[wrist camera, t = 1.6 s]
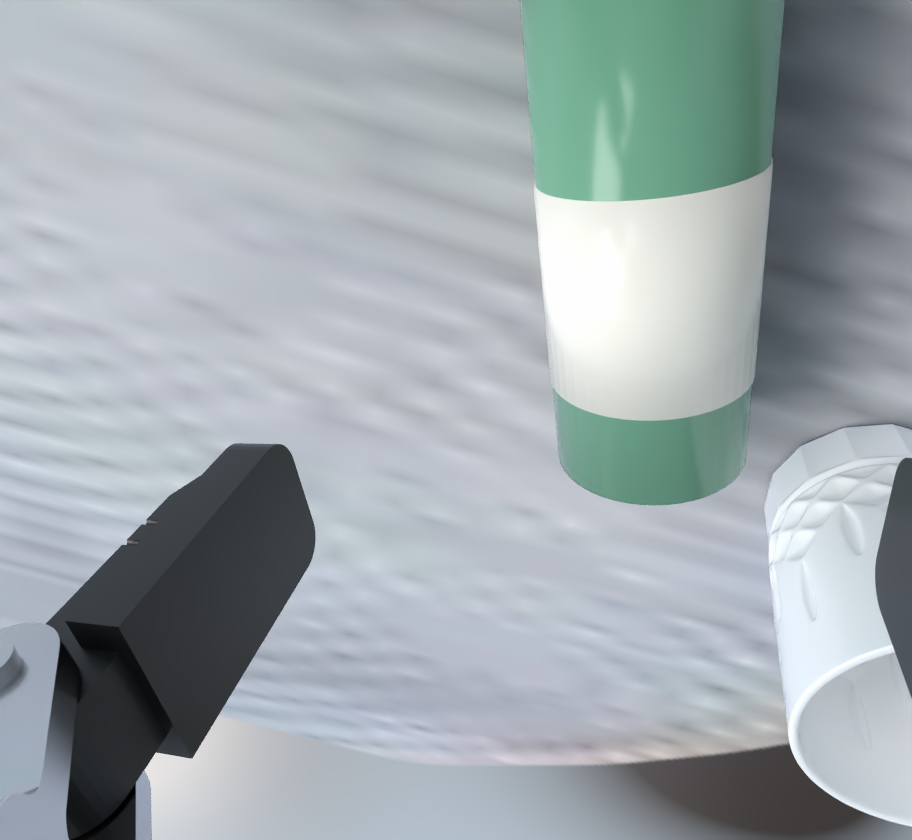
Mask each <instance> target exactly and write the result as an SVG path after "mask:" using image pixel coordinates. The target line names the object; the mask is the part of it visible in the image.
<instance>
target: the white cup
mask: <svg viewBox="0 0 912 840" xmlns="http://www.w3.org/2000/svg"><path fill="white" fill-rule="evenodd" d="M904 458H912V429H908V428H905V427H901V426H897V425H894V424H885V425H872V426H858V427H846V428H841V429H839V430H836V431H834V432H832V433H829V434H827V435H825V436H822V437H820V438H818V439H815V440H813V441H811V442H808V443H806V444H804V445H801V446H800V447H799V448H798V449H797V450H796V451H795V452H794V453H793V454H792V455H791V456H790V457H789V458H788V459H787V460H786V461H785V462H784V463H783V464H782V465H781V466H780V467H779V468H778V469H777V470H776V471H775V472H774V473H773V475H772V478H771V482H770V486H769V489H768V493H767V497H766V501H765V504H764V510H765V518H766V525H767V532H768V538H769V573H770V581H771V587H772V605H773V615H774V624H775V631H776V639H777V647H778V655H779V663H780V671H781V678H782V686H783V695H784V703H785V711H786V720H787V728H788V737H789V743H790V747H791V750H792V752H793V755H794V757H795V759H796V761H797V762H798V764H799V765H800V767H801V768H802V770H803V771H804V772H805V773H806V774H807V776H808V777H809V778H810V779H811V780H812V781H814V783H816V784H817V785H818V786H819V787H820V788H822V789H823V790H824V791H826V792H827V793H828V794H830V795H832V796H833V797H835V798H836V799H838V800H840V801H841V802H843V803H845V804H847V805H849V806H851V807H853V808H855V809H857V810H860V811H862V812H865V813H867V814H870V815H872V816H875V817H878V818H881V819H884V820H888V821H891V822H894V823H898V824H902V825H907V826H912V698H911V695H910V693H909V690H908V687H907V684H906V681H905V679H904V676H903V673H902V670H901V667H900V665H899V662H898V659H897V656H896V654H895V651H894V648H893V645H892V642H891V640H890V637H889V634H888V631H887V628H886V626H885V623H884V620H883V617H882V615H881V612H880V608H879V605H878V600H877V594H876V585H875V565H876V557H877V552H878V548H879V543H880V539H881V534H882V530H883V526H884V521H885V517H886V512H887V508H888V504H889V499H890V495H891V490H892V486H893V481H894V477H895V473H896V470H897V467H898V465H899V463H900V462H901V461H902V460H903V459H904Z"/></svg>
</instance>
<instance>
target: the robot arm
mask: <svg viewBox="0 0 912 840" xmlns="http://www.w3.org/2000/svg"><path fill="white" fill-rule="evenodd" d="M314 548H315V527H314V523H313V520H312V516H311V513H310V510H309V507H308V504H307V501H306V498H305V494H304V491H303V488H302V485H301V482H300V479H299V476H298V472H297V469H296V466H295V463H294V460H293V457H292V455H291V453H290V451H289V450H288V449H287V448H286V447H285V446H284V445H281V444H237V443H236V444H233V445H231V446H229V447H228V448H227V449H226V450H225V451H224V452H223V453H222V454H221V455H220V456H219V457H218V458H217V459H216V460H215V461H214V463H213V464H212V465H211V466H210V467H209V468H208V469H207V470H206V471H205V472H204V473H203V474H202V475H201V476H199V477H198V478H196V479H195V480H193V481H192V482H190V483H188V484H187V485H185V486H184V487H182V488H181V489H179V490H178V491H176V492H175V493H173V494H171V495H170V496H169V497H168V498H167V499H166V500H165V501H164V502H163V503H162V504H161V505H160V506H159V507H158V508H157V509H156V510H155V511H154V512H153V513H152V515H151V516H150V517H149V518H148V519H147V523H146V525H141V526H140V527H139V528H138V529H137V530H136V531H135V532H134V533H133V534H132V535H131V536H130V537H129V538H128V539H127V545H122V546H121V547H120V548H119V549H118V550H117V551H116V552H115V553H114V554H113V555H112V556H111V557H110V558H109V559H108V560H107V561H106V562H105V563H104V564H103V565H102V566H101V567H100V568H99V569H98V570H97V572H96V573H95V574H94V575H93V576H92V577H91V578H90V579H89V580H88V581H87V582H86V583H85V584H84V585H83V586H82V587H81V588H80V589H79V590H78V591H77V592H76V593H75V594H74V595H73V596H72V597H71V598H70V600H69V601H68V602H67V603H66V604H65V605H64V606H63V607H62V608H61V609H60V610H59V611H58V612H57V613H56V614H55V615H54V616H53V617H52V618H51V619H50V620H49V621H48V622H47V623H46V624H43V623H23V624H18V625H13V626H10V627H7V628H3V629H1V630H0V840H152V833H151V832H152V831H151V787H150V781H149V779H148V776H147V775H146V773H145V771H144V769H145V768H146V766H147V765H148V763H149V762H150V760H151V759H152V757H153V756H154V754H155V753H156V752H157V753H163V754H169V755H175V756H181V757H186V758H193V756H194V755H195V753H196V751H197V750H198V748H199V746H200V745H201V742H202V741H203V740H204V738H205V736H206V735H207V733H208V731H209V730H210V728H211V726H212V725H213V723H214V722H215V720H216V718H217V717H218V715H219V713H220V712H221V710H222V708H223V707H224V705H225V703H226V702H227V700H228V698H229V697H230V695H231V693H232V692H233V690H234V689H235V687H236V685H237V684H238V682H239V680H240V679H241V677H242V675H243V674H244V672H245V670H246V669H247V667H248V665H249V664H250V662H251V660H252V659H253V657H254V655H255V654H256V652H257V651H258V649H259V647H260V646H261V644H262V642H263V641H264V639H265V637H266V636H267V634H268V632H269V631H270V629H271V627H272V626H273V624H274V622H275V621H276V619H277V617H278V616H279V614H280V613H281V611H282V609H283V608H284V606H285V604H286V603H287V601H288V599H289V598H290V596H291V594H292V593H293V591H294V589H295V588H296V586H297V584H298V583H299V581H300V580H301V578H302V576H303V575H304V573H305V571H306V570H307V568H308V566H309V564H310V562H311V559H312V556H313V553H314ZM875 585H876V594H877V600H878V605H879V608H880V612H881V615H882V617H883V620H884V623H885V626H886V628H887V631H888V634H889V637H890V640H891V642H892V645H893V648H894V651H895V654H896V656H897V659H898V662H899V665H900V667H901V670H902V673H903V676H904V679H905V681H906V684H907V687H908V690H909V693H910V695H911V698H912V458H904V459H903V460H902V461H901V462H900V463H899V465H898V467H897V470H896V473H895V477H894V481H893V486H892V490H891V495H890V499H889V504H888V508H887V512H886V517H885V521H884V526H883V530H882V534H881V539H880V543H879V548H878V552H877V557H876V565H875Z"/></svg>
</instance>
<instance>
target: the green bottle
mask: <svg viewBox="0 0 912 840" xmlns="http://www.w3.org/2000/svg"><path fill="white" fill-rule="evenodd" d="M784 4H785V0H520V11H521V23H522V35H523V46H524V58H525V69H526V81H527V93H528V104H529V116H530V128H531V139H532V151H533V162H534V174H535V182H534V195H535V207H536V218H537V230H538V241H539V253H540V264H541V275H542V287H543V298H544V310H545V321H546V333H547V344H548V356H549V367H550V378H551V383H552V386H553V395H554V406H555V418H556V430H557V441H558V453H559V459H560V463H561V465H562V467H563V469H564V471H565V472H566V473H567V475H568V476H569V477H570V478H571V479H572V480H573V481H574V482H575V483H577V484H578V485H580V486H581V487H583V488H584V489H586V490H588V491H590V492H592V493H594V494H597V495H599V496H602V497H605V498H608V499H611V500H615V501H620V502H624V503H631V504H639V505H670V504H678V503H684V502H689V501H694V500H697V499H700V498H703V497H706V496H709V495H711V494H713V493H716V492H718V491H719V490H721V489H723V488H725V487H726V486H727V485H729V484H730V483H731V482H733V481H734V480H735V479H736V478H737V476H738V475H739V474H740V472H741V471H742V469H743V467H744V464H745V461H746V451H747V440H748V428H749V416H750V404H751V393H752V383H753V380H754V378H755V368H756V356H757V345H758V333H759V321H760V310H761V298H762V287H763V275H764V264H765V252H766V241H767V229H768V217H769V206H770V194H771V183H772V171H773V158H772V145H773V134H774V122H775V110H776V98H777V87H778V75H779V63H780V51H781V40H782V28H783V16H784Z"/></svg>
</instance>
